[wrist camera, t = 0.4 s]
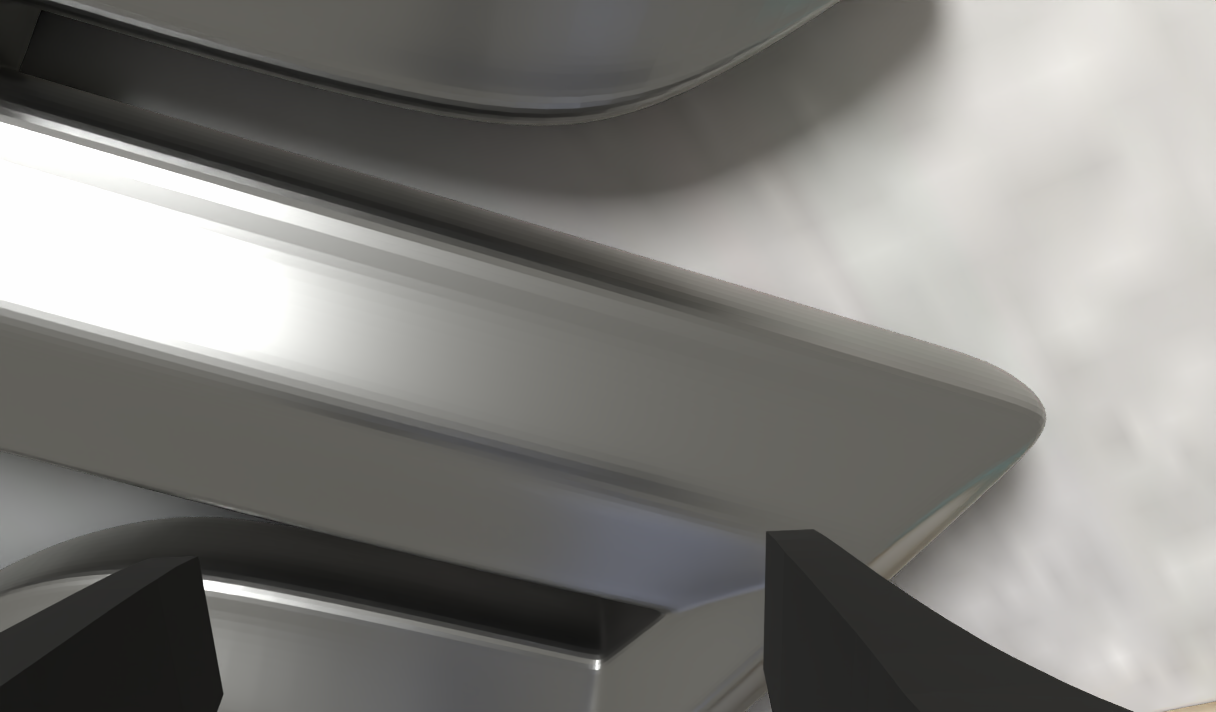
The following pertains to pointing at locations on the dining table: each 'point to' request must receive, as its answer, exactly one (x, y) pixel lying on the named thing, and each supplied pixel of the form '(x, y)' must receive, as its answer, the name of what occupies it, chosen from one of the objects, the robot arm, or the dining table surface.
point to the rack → (1198, 708)
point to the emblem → (445, 374)
